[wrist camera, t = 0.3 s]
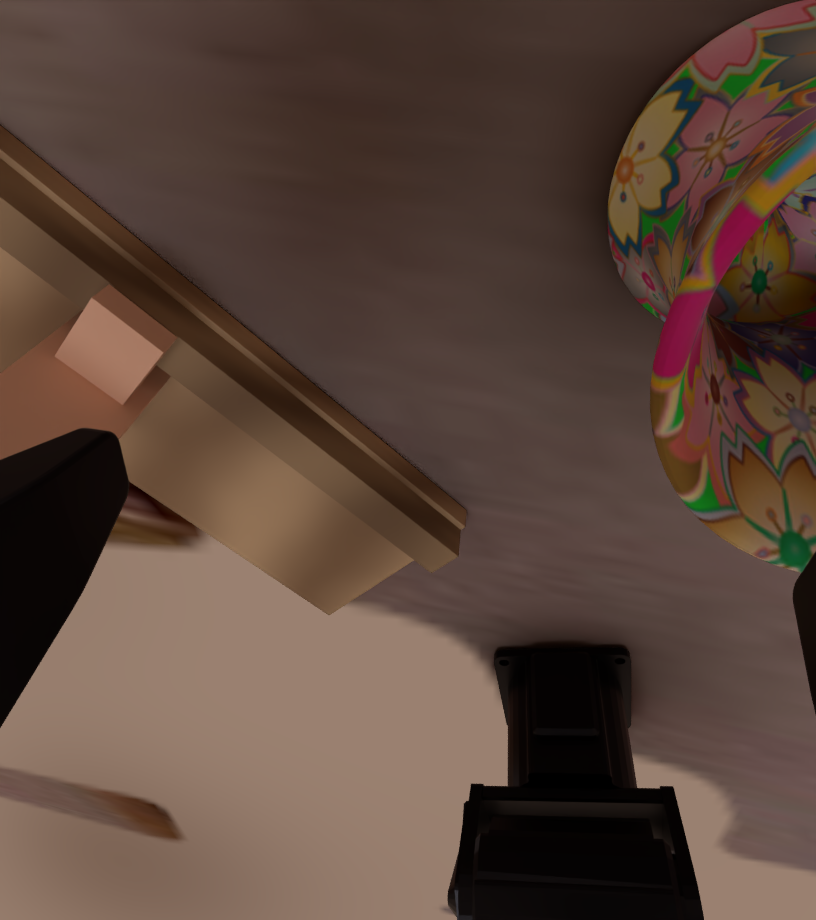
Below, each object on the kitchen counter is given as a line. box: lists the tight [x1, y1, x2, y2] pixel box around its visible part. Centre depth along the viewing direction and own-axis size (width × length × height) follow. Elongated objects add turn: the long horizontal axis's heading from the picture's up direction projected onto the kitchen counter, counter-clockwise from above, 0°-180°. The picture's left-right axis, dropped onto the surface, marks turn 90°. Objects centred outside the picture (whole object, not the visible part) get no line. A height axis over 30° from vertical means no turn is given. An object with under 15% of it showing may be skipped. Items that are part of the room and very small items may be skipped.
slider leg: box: [0, 284, 177, 460], centre depth 18 cm, size 4×6×10 cm, turn 137°
